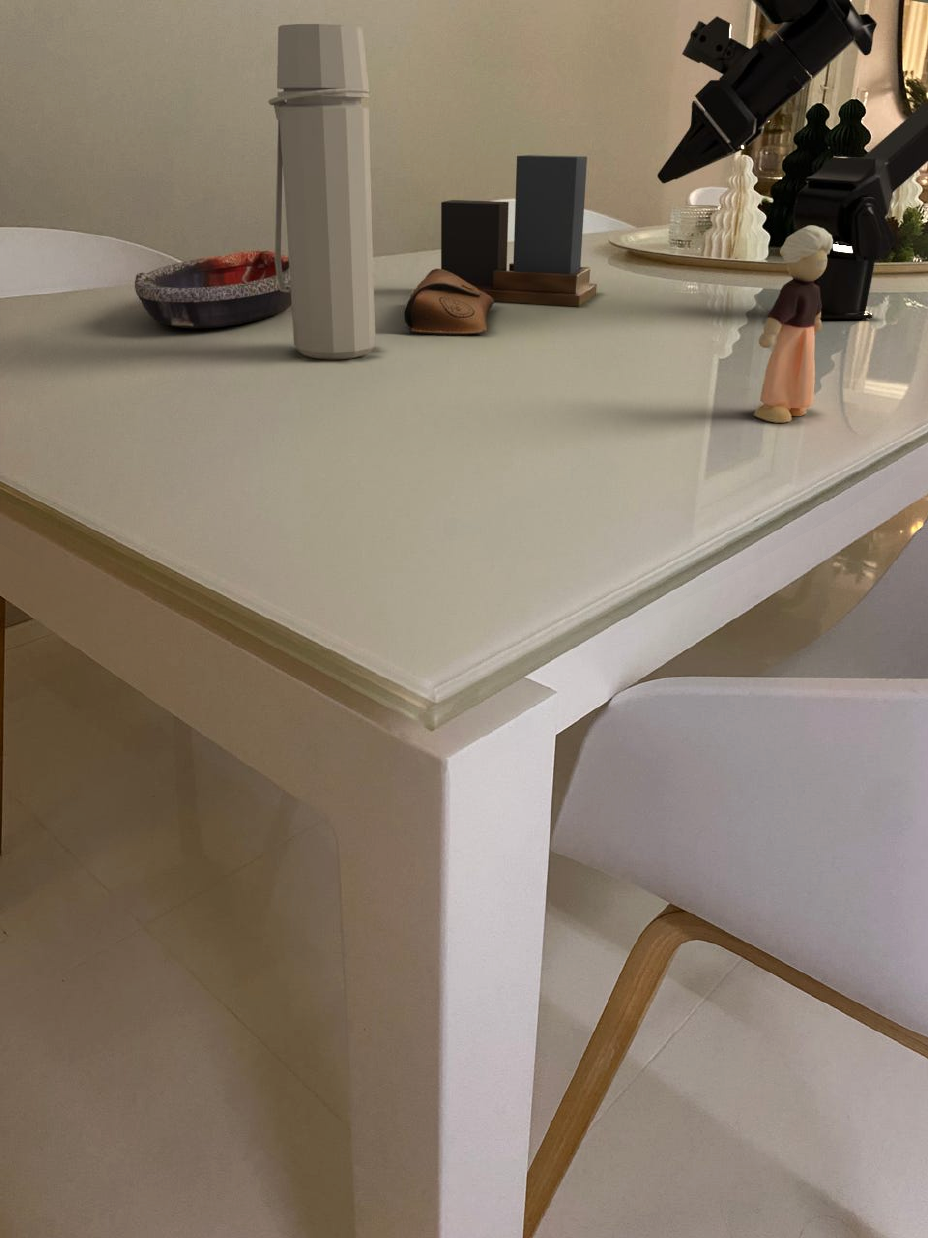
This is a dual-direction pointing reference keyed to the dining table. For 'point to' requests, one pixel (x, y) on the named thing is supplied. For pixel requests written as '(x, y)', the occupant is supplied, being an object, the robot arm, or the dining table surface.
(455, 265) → the pad cradle
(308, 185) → the water bottle
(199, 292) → the dish
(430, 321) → the sunglasses case
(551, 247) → the back pad
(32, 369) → the dining table surface
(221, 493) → the dining table surface
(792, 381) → the grandmother figurine
